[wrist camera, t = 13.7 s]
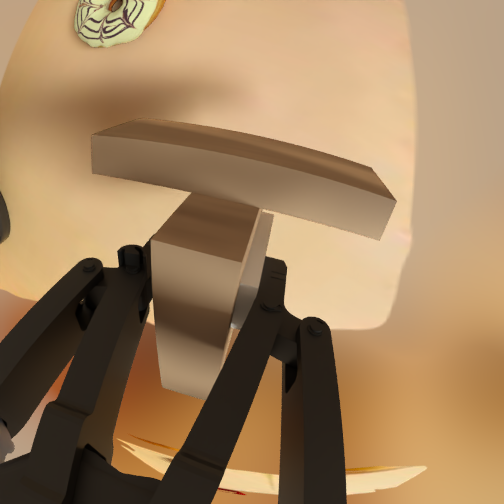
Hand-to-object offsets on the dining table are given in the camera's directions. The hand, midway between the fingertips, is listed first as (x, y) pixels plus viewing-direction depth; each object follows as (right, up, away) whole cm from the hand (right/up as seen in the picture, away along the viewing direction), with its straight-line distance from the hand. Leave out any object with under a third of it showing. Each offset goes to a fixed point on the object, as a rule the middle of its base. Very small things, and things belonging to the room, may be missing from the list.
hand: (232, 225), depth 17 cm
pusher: (0, 0, +1) cm, 1 cm away
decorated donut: (-13, +25, +2) cm, 28 cm away
